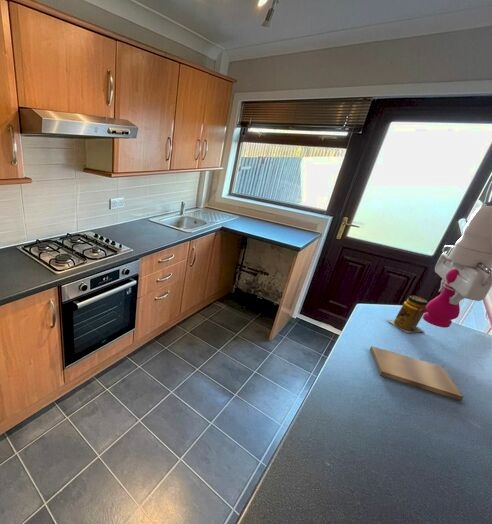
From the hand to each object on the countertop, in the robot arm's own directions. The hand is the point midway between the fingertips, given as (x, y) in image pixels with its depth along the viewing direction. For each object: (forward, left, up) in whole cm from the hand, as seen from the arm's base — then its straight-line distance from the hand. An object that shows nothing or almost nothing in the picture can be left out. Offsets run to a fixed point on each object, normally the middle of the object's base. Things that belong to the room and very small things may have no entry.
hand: (447, 298), depth 86 cm
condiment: (-1, -13, -20) cm, 23 cm away
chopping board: (+6, +16, -19) cm, 26 cm away
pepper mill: (-1, 0, -9) cm, 9 cm away
